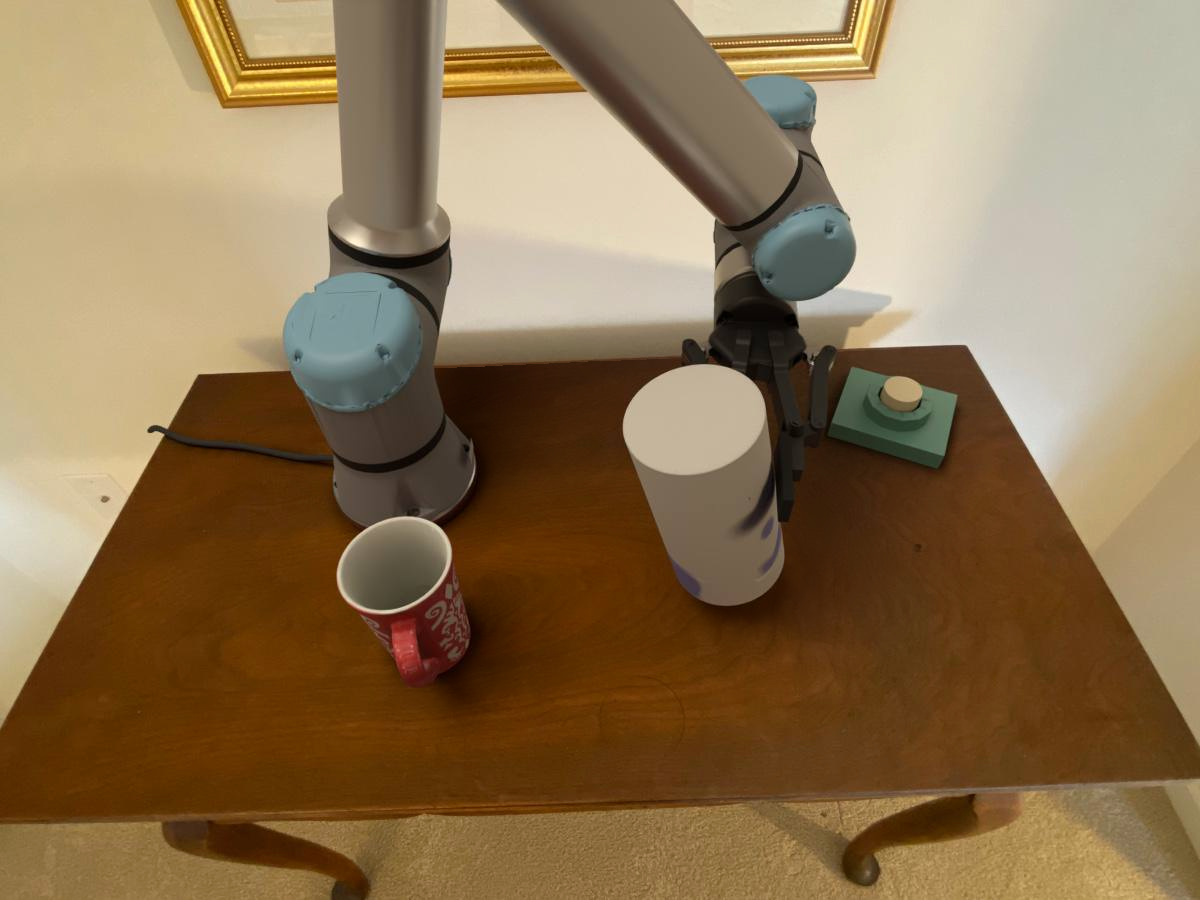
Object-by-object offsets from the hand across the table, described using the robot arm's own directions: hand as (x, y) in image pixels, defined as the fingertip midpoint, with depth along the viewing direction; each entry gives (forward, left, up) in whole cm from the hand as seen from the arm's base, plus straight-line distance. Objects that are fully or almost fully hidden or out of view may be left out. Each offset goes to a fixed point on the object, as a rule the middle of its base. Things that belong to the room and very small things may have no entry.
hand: (764, 509), depth 51 cm
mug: (-24, -14, -19) cm, 34 cm away
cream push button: (+8, +32, -15) cm, 36 cm away
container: (-3, +4, -14) cm, 15 cm away
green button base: (+8, +32, -19) cm, 38 cm away
